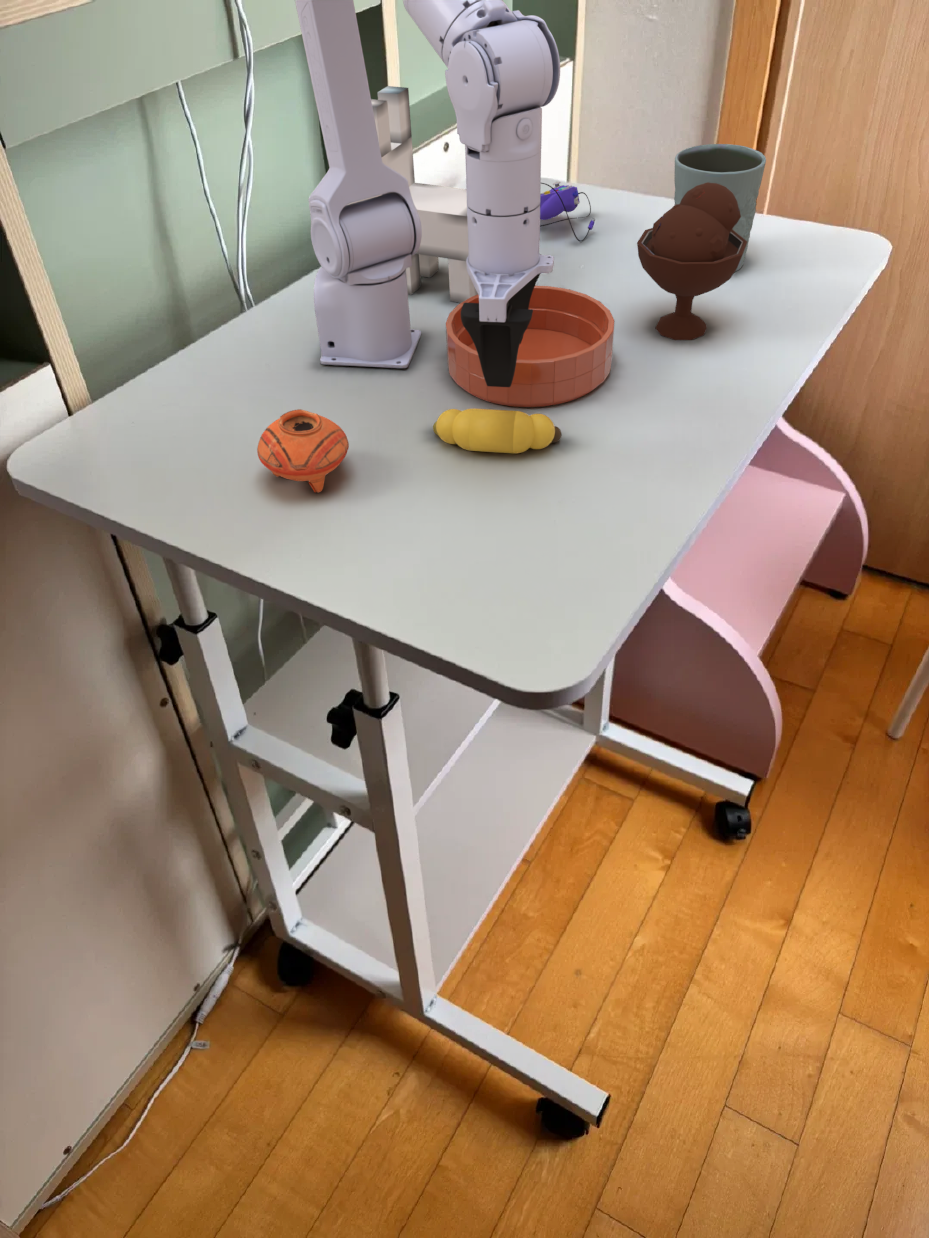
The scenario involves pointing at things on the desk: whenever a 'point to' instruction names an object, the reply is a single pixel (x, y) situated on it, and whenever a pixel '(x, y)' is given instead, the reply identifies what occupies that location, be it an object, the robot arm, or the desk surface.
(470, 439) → the banana
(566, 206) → the game controller
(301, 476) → the pot
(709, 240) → the ice cream bowl
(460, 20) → the robot arm
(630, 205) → the desk surface
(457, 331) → the bowl
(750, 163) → the grey green cup
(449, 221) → the toy llama
